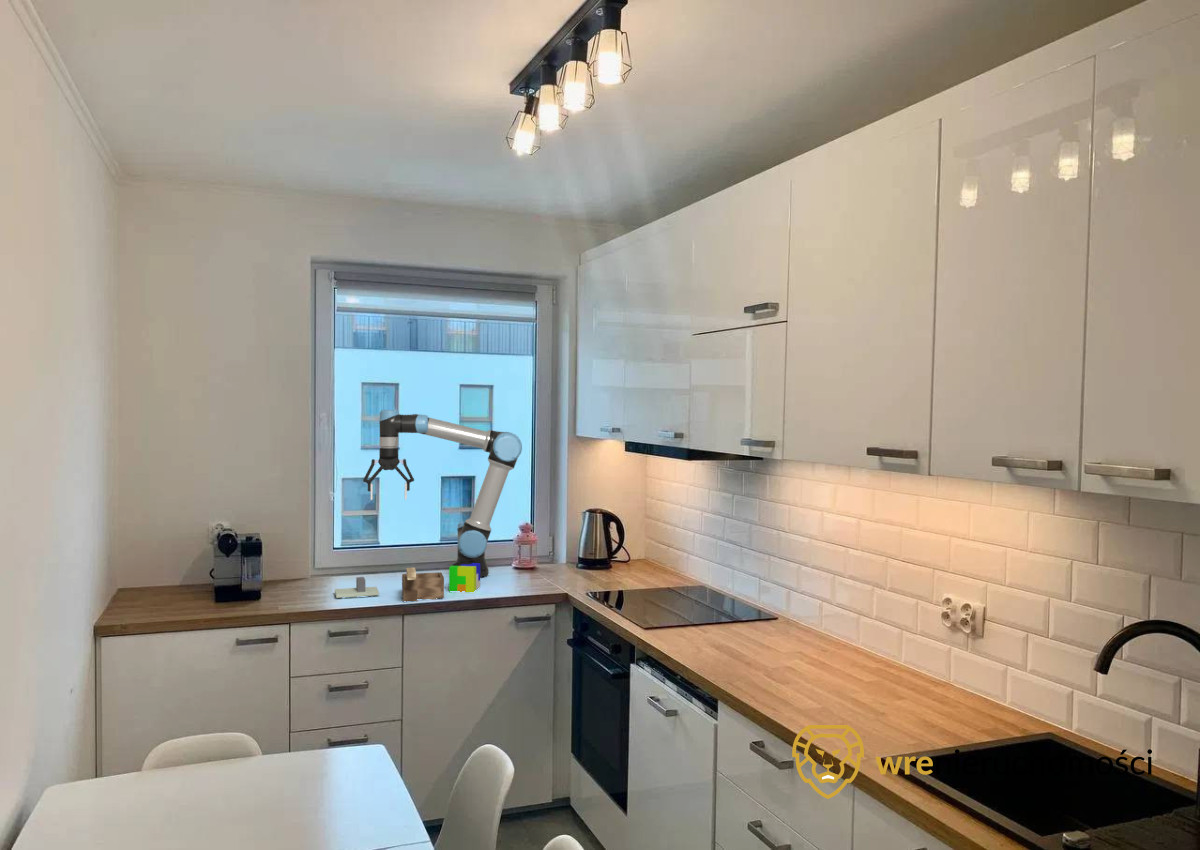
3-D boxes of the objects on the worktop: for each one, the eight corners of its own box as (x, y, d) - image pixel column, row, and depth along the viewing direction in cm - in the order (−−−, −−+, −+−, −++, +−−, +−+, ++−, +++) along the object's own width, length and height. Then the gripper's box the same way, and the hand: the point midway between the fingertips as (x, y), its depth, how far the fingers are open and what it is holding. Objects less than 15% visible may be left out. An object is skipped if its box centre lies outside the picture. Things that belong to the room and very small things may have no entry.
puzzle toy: (480, 588, 345) (480, 563, 345) (474, 593, 335) (474, 567, 335) (455, 587, 346) (456, 562, 346) (449, 592, 336) (449, 567, 336)
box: (441, 592, 335) (441, 569, 335) (444, 600, 322) (444, 575, 322) (402, 594, 331) (402, 570, 331) (403, 602, 318) (403, 577, 318)
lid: (376, 592, 337) (376, 575, 337) (379, 597, 327) (379, 580, 327) (334, 594, 331) (334, 577, 331) (336, 600, 322) (336, 582, 321)
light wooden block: (414, 575, 320) (414, 567, 320) (415, 579, 313) (415, 571, 312) (406, 575, 319) (406, 567, 319) (407, 580, 312) (407, 571, 312)
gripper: (419, 446, 357) (419, 497, 357) (357, 447, 350) (357, 498, 351) (420, 447, 350) (420, 499, 350) (357, 447, 343) (357, 500, 343)
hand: (388, 499), depth 350 cm, fingers open, 13 cm apart
